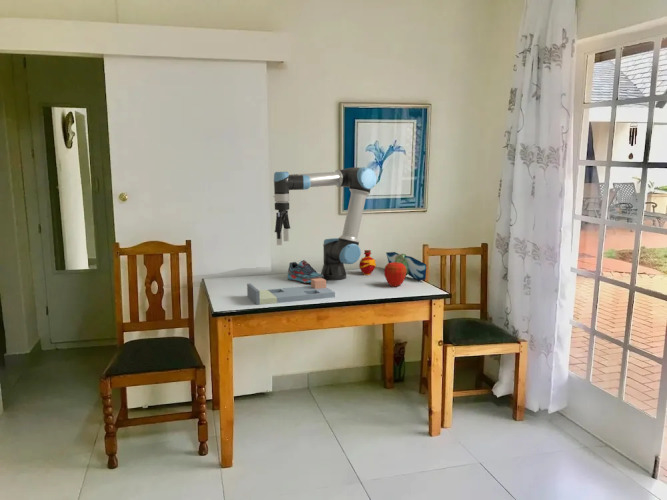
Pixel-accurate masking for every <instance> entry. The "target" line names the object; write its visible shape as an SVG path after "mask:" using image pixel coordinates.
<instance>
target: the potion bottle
mask: <svg viewBox="0 0 667 500" xmlns="http://www.w3.org/2000/svg"><path fill="white" fill-rule="evenodd" d="M371 251H372V250H370V249H366V250H365V249H364V253H363V254H364V255H365V256H364V257H362V258H361V259H360V261H359V265H358V267H359V268H358V269H360V271H361V272H362V273H363V275H364V276H370V275H371V274H372V272H373V271H375V269H376V266H377V263H376V262H377V260H375V258H372V257H371V254H372V252H371Z"/></svg>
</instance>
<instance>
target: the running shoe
mask: <svg viewBox="0 0 667 500" xmlns="http://www.w3.org/2000/svg"><path fill="white" fill-rule="evenodd" d="M288 265H289V267H288V269H287V270H288V271H287V280H289V281H292V280H293V282H298V283H302V284H305V285H306V284H309V285H311V279H317V278H323V279H324V275H323V274H321V273H319V272H318V271H316V270H315V268H314V267H313V266H311V264H310V263H308V262H307V261H306V260H305V259H303V260H301V261H300V262H298V263H297V262H296V261H292V262H289V264H288Z"/></svg>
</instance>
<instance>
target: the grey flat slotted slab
mask: <svg viewBox="0 0 667 500" xmlns="http://www.w3.org/2000/svg"><path fill="white" fill-rule="evenodd" d="M246 285H247V286H246V289H247V290H246V291H247V292H246V293H247V297H248V299H250V300H251V301H252V302H253V303H254V304H255V305H260V306H261V305H268V304H269V305H270V304H278V303H287V302H288V303H289V302H299V301H309V300H318V299H328V298H335V297H336V291H334V290H332V289H330V288H328V287H326V288H320V289H315V288H313V287H311V285H305V286H295V287H283V288H281V287H280V288H273V289H272V288H270V289H269V288H268V289H260V290H259V289H258V288H257V287H255V285H253V284H252V283H251V282H249V283H247V284H246Z"/></svg>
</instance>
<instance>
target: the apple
mask: <svg viewBox="0 0 667 500" xmlns="http://www.w3.org/2000/svg"><path fill="white" fill-rule="evenodd" d="M406 271H407V270H406V267H405V266H404V265H403V264H402V263H397V262H396V261H395V262H393V263H389V262H388V263H387V264H386V265H385V267H384V271H383V272H384V277H385V280H386V282H387V284H389V286H391V287H395V288H396V287H399V286H401V285H402V284H404V281H405V279H406V276H407V275H406Z"/></svg>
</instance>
